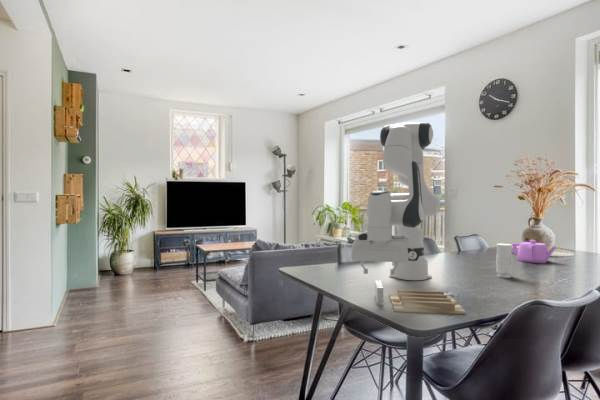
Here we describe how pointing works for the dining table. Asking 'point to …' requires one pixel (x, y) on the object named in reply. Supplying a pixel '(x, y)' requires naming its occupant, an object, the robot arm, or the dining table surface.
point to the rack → (424, 302)
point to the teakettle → (532, 251)
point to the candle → (504, 260)
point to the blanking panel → (379, 292)
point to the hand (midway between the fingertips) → (379, 273)
